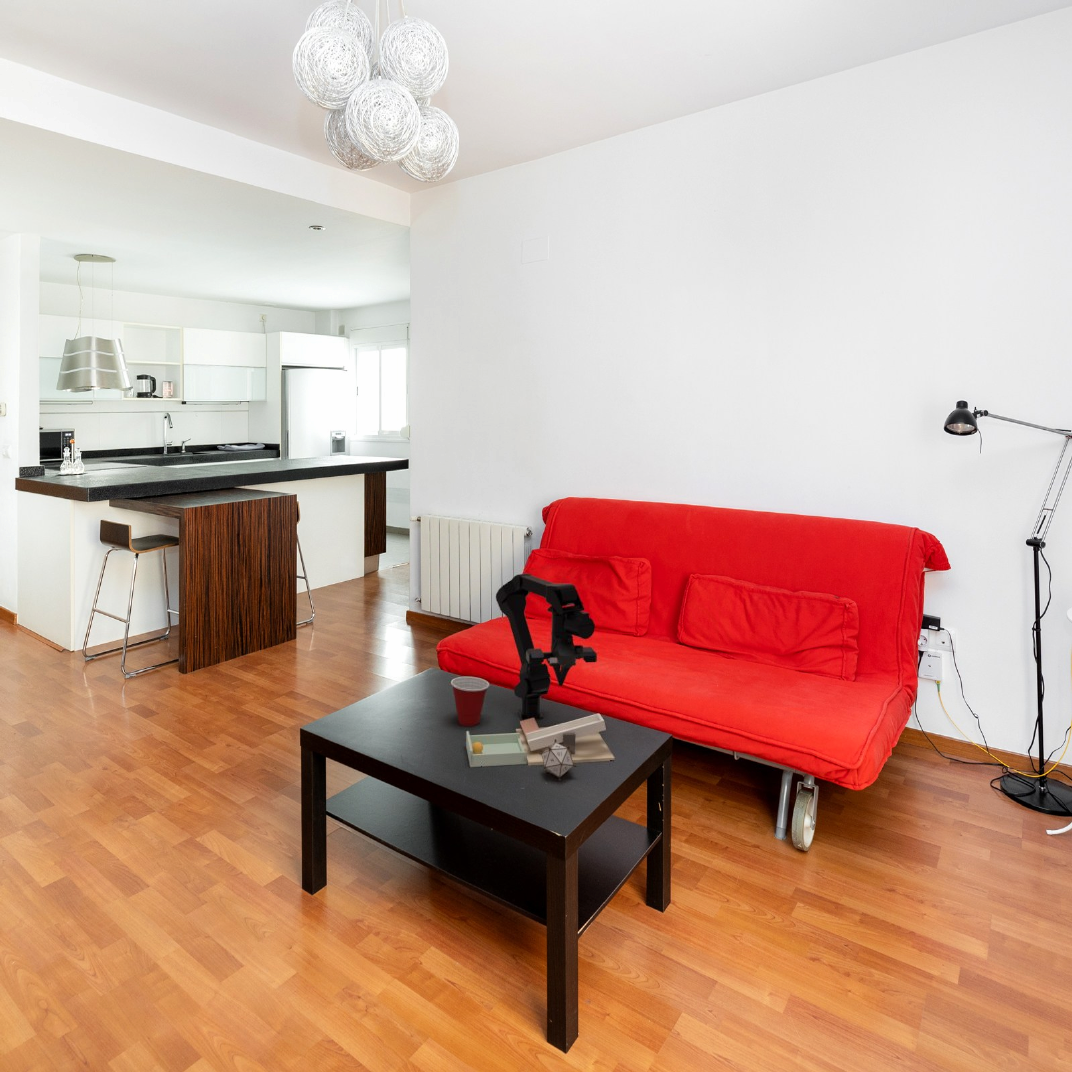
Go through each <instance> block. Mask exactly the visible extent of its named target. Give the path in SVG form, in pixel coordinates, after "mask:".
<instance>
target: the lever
mask: <svg viewBox="0 0 1072 1072" xmlns="http://www.w3.org/2000/svg"><path fill="white" fill-rule="evenodd" d="M519 723H520V726H521V727H520V728H521V729H523V732H524V734H525V737H526V739H527V742H528V745H529V747H530V750H531V751H533V750H536V749H540V748H543V747H547V746H551V745H553V744H554V743H555V741H554V740H555V739H556V743H561V742H563V734H567V733H575V735H576V736H575V738H579V737H582V736H586V735H590V734H593V733H597V732H598V733H599V732H603V731H606V730H607V729H606V728H607V727H606V723H605V720H604V719H603V717H602V716H601V714H600V713H594V714H592V715H588V716H584V717H581V718H576V719H574V720H570V721H567V722H562V724H560V723H558V724H559V725H558V724H556V725H551V726H547V727H548V728H544V729H541V730H539V728H540V727H539V726H538V723H537V721H536V719H534V718H531V719H524V720H521V721H519Z"/></svg>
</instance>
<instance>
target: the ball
mask: <svg viewBox="0 0 1072 1072" xmlns="http://www.w3.org/2000/svg"><path fill="white" fill-rule="evenodd" d="M472 749H473V753H474V754H480V753H481V752H482V751H483V745H482V744H481V743H480V742H475V743H473V744H472Z"/></svg>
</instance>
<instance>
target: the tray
mask: <svg viewBox="0 0 1072 1072" xmlns="http://www.w3.org/2000/svg"><path fill="white" fill-rule="evenodd" d="M465 733H466V735H465V739H466V740H465V741H466V742H465V746H466V747H465V748H466V753H467V757H468V762H469V767H470V768H478V767H479V768H480V767H481V766H482V767H493V766H494V767H495V766H511V765H513V766H515V765H528V763H527V752H526V751H524V748H523V746H522V743H521V740H520V733H516V732H513V733H512V732H511V733H493V734H475V735H474V734H473V735H471V734H470V730H467V731H466V732H465ZM475 742H480V743H481V744H482V745H483V751H482V752H481V753H480V754H474V753H473V749H472V744H473V743H475ZM482 767H481V768H482Z"/></svg>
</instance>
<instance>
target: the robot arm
mask: <svg viewBox="0 0 1072 1072" xmlns="http://www.w3.org/2000/svg"><path fill="white" fill-rule="evenodd" d="M530 593H532V594H534V595H538V596H540V597H543V598H544V599H545V602H546V603H547V604H549V605H550V607H548V608H547V610H546V611H547V612H549V613H551V631H550V633H551V634H550V635H551V636H550V637H551V639H550V640H551V641H550V642H551V643H550V651H544V652H543V650H542V648H536V647H535V645H534V642H533V638H532V635H531V632H530V629H529V624H528V621H527V618H526V615H525V614H526V613H525V611H526V607H527V597H528V596H529V594H530ZM495 600H496V603H497V605H498V607H499V610H500V612H501V613H503V615H505V617H507V619H508V622H509V626H510V628H511V631H512V636H513V640H514V643H515V647H516V650H517V653H518V658H519V661H520V665H521V666H520V669H519V674H518V677H519V678H518V679H519V682H518V683H517V684H516V685H515V686H514V687H513V691H514V692H513V693H514V695H515V697H518V698H519V699H521V700H520V702H521V703H520V709H518V711H517V712H518V715H519V717H520V720H521V721H523V720H527V719H531V718H534V719H535V720H537V719H538V720H543V719H544V715H543V713H542V708H541V706H542V705H541V704H542V696H547V695H548V693H549V689H550V687H551V684H552V683H551V681H552V680H551V674H550V671H549V668H548V665H549V666H550V667H552V668H553V671H554V674H555V677H556V679H557V680H556V681H557V684H558V686H559V687H563V685H564V683H565V680H566V678H567V675H568V673H569V672H570V670H571V668H572V667H574V666H576V665H577V662H576V661H577V660H581V659H582V660H583V661H584V662H585V663H587V664H588V663H597V662H598V654H597V652H596V651H595V650H594V648H593V647H591V646H583V645H582V644H575V643H574V637H577V638H580V639H583V640H587V639H590V638H592V636H593V635H594V633H595V629H596V625H595V621H594V620H593V618H591V617H590V613H589V612H587V611H585V606H584V603H583V601H582V600H581V597H580V595H579V592H578V590H577V588H576V586H575V585H574V584H573V583H553V582H550V581H548V580H545V579H543V578H539V577H537V576H534V575H533V574H530V573H520V574H516V575H514V576H513V577H512V579H510V580H509V581H508V582H506V583H505V584H502V586H501V587H499V589H498V590H497V592H496V594H495ZM545 660H546V663H544V661H545ZM547 663H548V665H547Z"/></svg>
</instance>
